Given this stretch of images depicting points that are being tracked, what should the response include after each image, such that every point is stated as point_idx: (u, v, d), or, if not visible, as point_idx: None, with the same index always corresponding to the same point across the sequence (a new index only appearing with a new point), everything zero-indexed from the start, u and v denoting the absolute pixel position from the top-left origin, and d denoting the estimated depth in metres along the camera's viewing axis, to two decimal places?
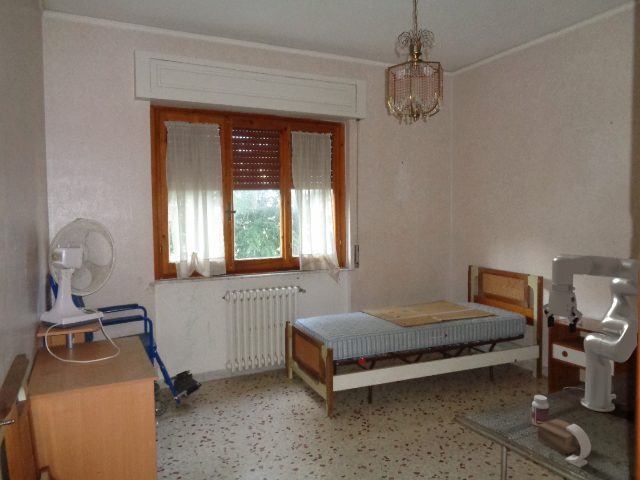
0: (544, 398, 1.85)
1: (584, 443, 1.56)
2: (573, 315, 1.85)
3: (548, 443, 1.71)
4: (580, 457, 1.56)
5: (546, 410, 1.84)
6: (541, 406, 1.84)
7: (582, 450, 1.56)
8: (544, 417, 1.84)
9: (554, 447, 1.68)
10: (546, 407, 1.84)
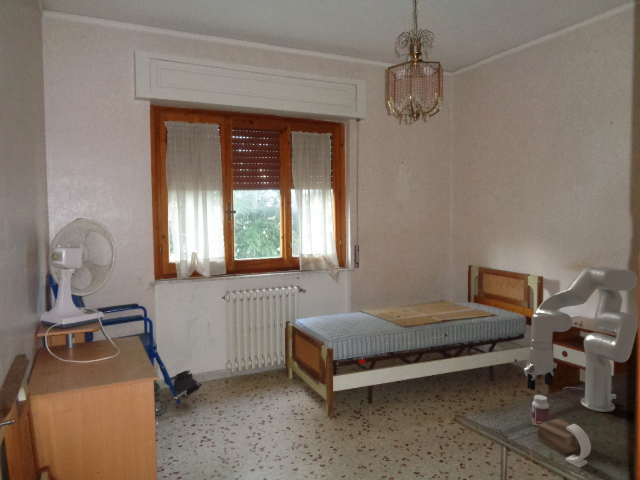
0: (544, 398, 1.85)
1: (584, 443, 1.56)
2: None
3: (548, 443, 1.71)
4: (580, 457, 1.56)
5: (546, 409, 1.84)
6: (541, 406, 1.84)
7: (582, 450, 1.56)
8: (544, 417, 1.84)
9: (554, 447, 1.68)
10: (546, 407, 1.84)
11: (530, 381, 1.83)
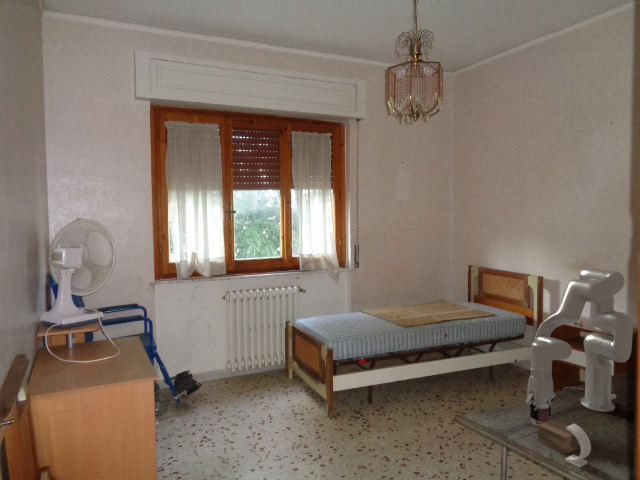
0: None
1: (584, 443, 1.56)
2: None
3: (548, 443, 1.71)
4: (580, 457, 1.56)
5: (546, 409, 1.84)
6: (541, 406, 1.84)
7: (582, 450, 1.56)
8: (544, 417, 1.84)
9: (554, 447, 1.68)
10: (546, 407, 1.84)
11: (533, 411, 1.85)
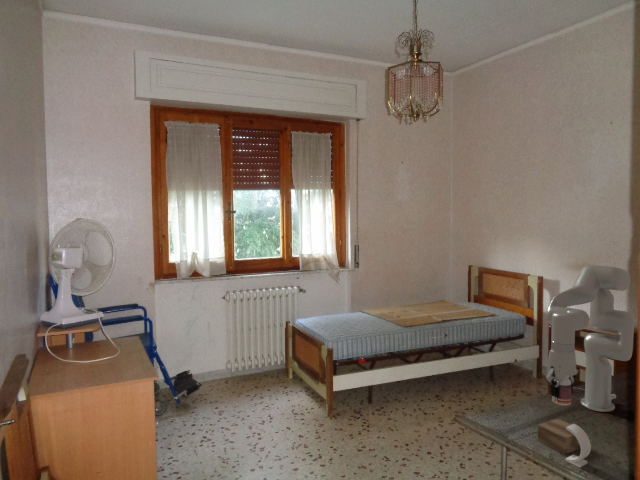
0: None
1: (584, 443, 1.56)
2: None
3: (548, 443, 1.71)
4: (580, 457, 1.56)
5: (568, 386, 1.68)
6: (562, 382, 1.68)
7: (582, 450, 1.56)
8: (566, 395, 1.68)
9: (554, 447, 1.68)
10: (568, 383, 1.68)
11: (554, 388, 1.68)
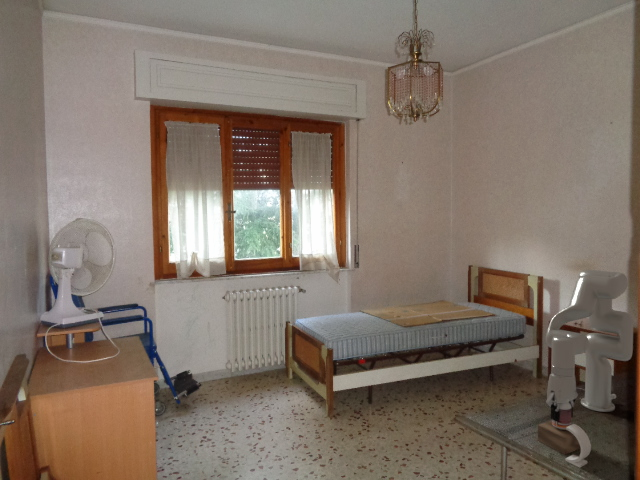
0: None
1: (584, 443, 1.56)
2: None
3: (548, 443, 1.71)
4: (580, 457, 1.56)
5: (568, 410, 1.68)
6: (563, 406, 1.68)
7: (582, 450, 1.56)
8: (566, 419, 1.68)
9: (554, 447, 1.68)
10: (568, 408, 1.68)
11: (554, 412, 1.69)
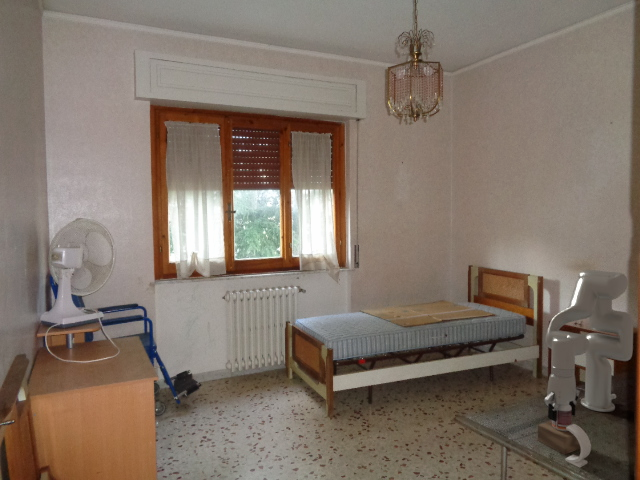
0: None
1: (584, 443, 1.56)
2: None
3: (548, 443, 1.71)
4: (580, 457, 1.56)
5: (568, 412, 1.68)
6: (563, 408, 1.68)
7: (582, 450, 1.56)
8: (566, 421, 1.68)
9: (554, 447, 1.68)
10: (568, 409, 1.68)
11: (551, 411, 1.68)
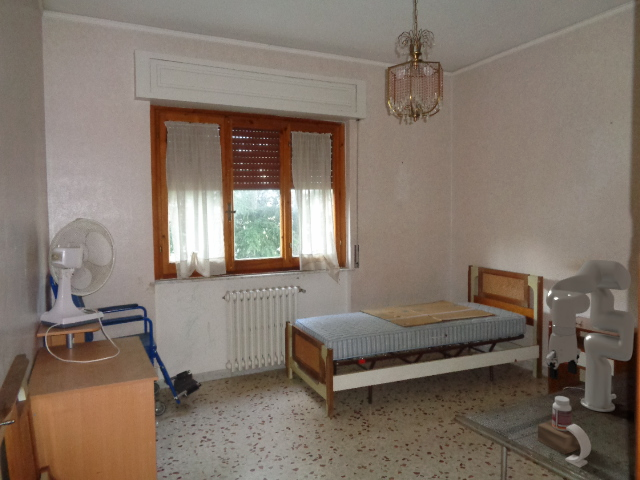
0: (566, 399, 1.70)
1: (584, 443, 1.56)
2: None
3: (548, 443, 1.71)
4: (580, 457, 1.56)
5: (568, 412, 1.68)
6: (563, 408, 1.68)
7: (582, 450, 1.56)
8: (566, 421, 1.68)
9: (554, 447, 1.68)
10: (568, 409, 1.68)
11: (552, 370, 1.67)
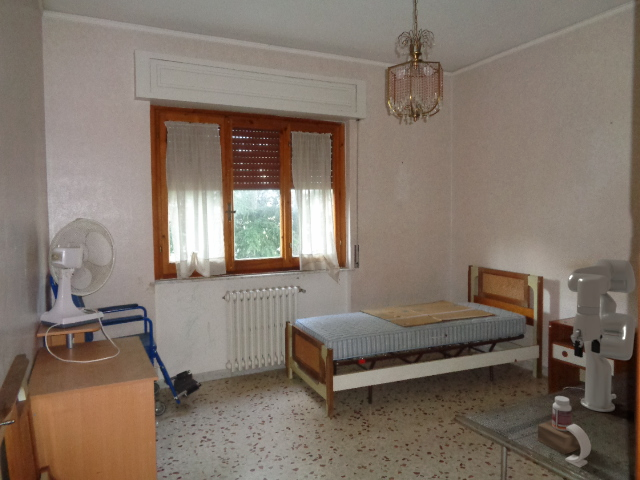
0: (566, 399, 1.70)
1: (584, 443, 1.56)
2: None
3: (548, 443, 1.71)
4: (580, 457, 1.56)
5: (568, 412, 1.68)
6: (563, 408, 1.68)
7: (582, 450, 1.56)
8: (566, 421, 1.68)
9: (554, 447, 1.68)
10: (568, 409, 1.68)
11: (577, 348, 1.75)
